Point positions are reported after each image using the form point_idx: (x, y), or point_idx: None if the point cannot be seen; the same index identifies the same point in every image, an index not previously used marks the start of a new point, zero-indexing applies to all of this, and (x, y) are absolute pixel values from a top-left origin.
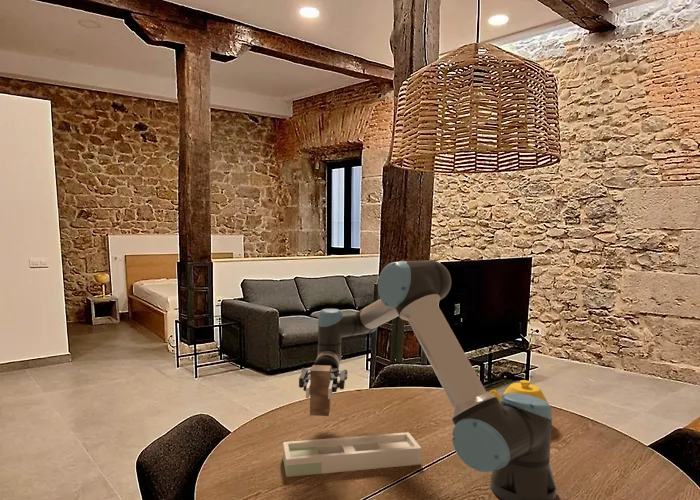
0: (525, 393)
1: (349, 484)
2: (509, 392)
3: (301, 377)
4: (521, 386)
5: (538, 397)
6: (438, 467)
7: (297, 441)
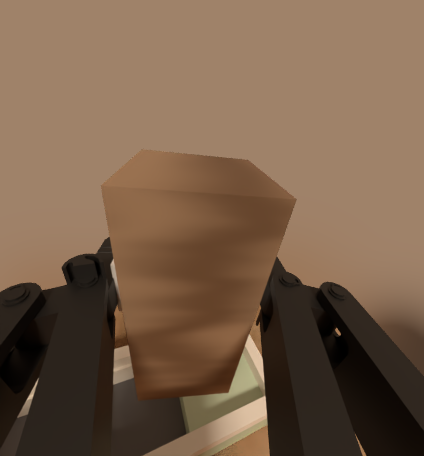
0: None
1: (119, 323)
2: None
3: (341, 294)
4: None
5: None
6: None
7: (250, 416)
